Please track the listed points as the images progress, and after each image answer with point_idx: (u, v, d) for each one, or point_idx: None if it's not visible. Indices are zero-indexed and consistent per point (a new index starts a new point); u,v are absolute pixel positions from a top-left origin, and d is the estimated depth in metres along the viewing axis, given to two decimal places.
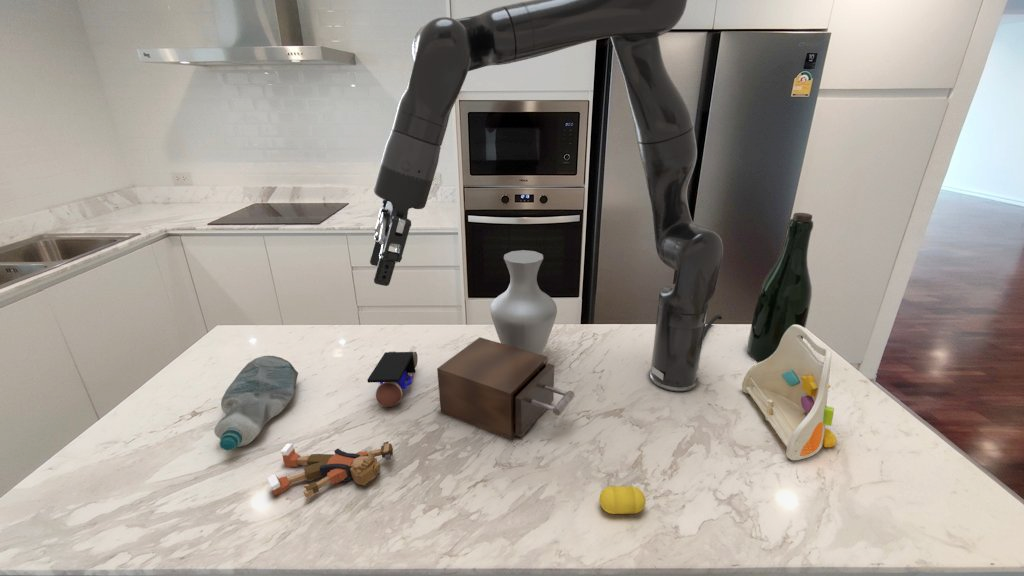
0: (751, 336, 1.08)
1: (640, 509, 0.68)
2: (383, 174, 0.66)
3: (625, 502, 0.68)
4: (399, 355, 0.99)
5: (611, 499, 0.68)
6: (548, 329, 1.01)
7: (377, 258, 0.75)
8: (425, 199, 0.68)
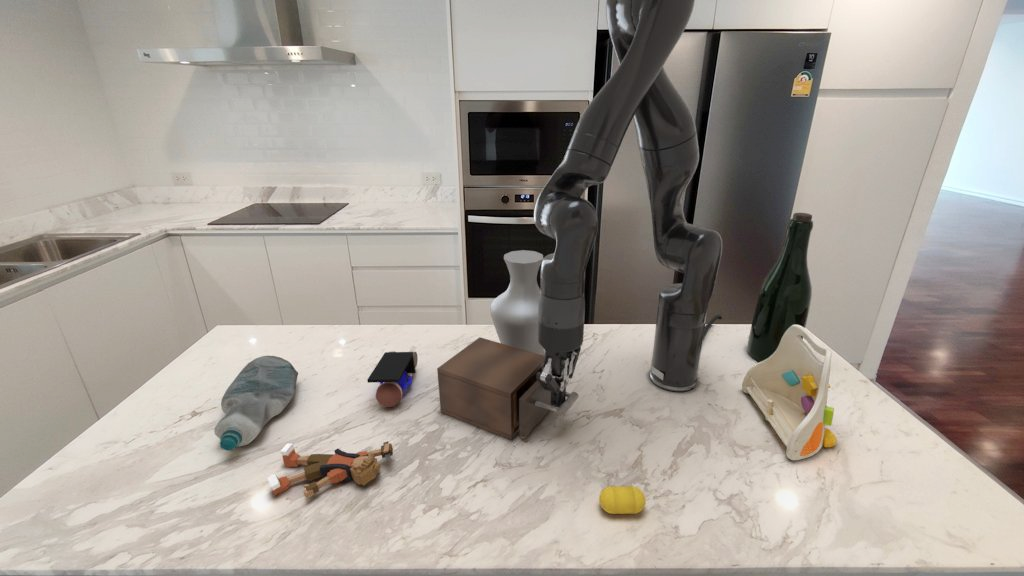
0: (751, 336, 1.08)
1: (640, 509, 0.68)
2: (538, 324, 0.79)
3: (625, 502, 0.68)
4: (399, 355, 0.99)
5: (611, 499, 0.68)
6: None
7: None
8: (573, 343, 0.76)
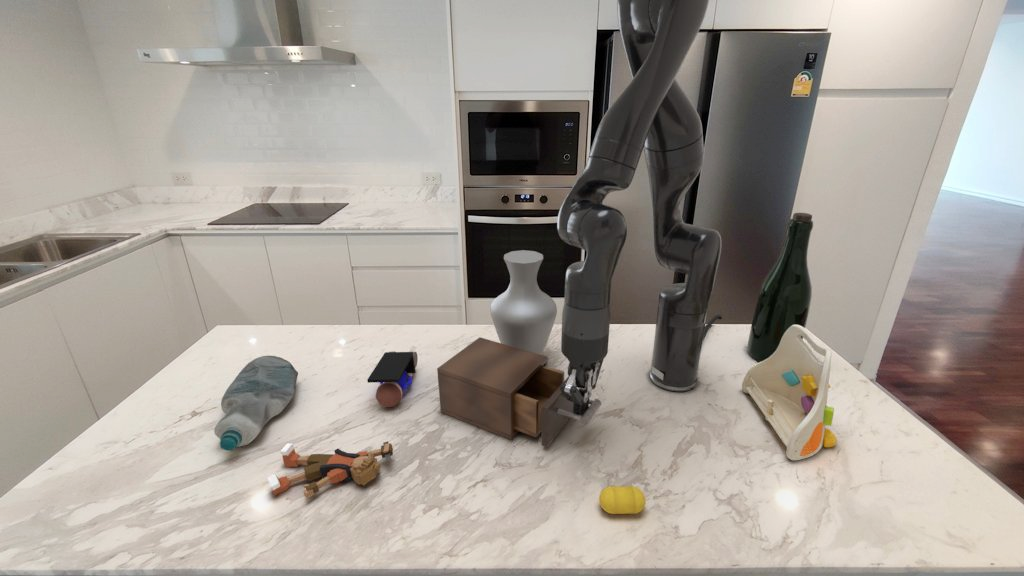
0: (751, 336, 1.08)
1: (640, 509, 0.68)
2: None
3: (625, 502, 0.68)
4: (399, 355, 0.99)
5: (611, 499, 0.68)
6: (548, 329, 1.01)
7: None
8: (598, 354, 0.75)
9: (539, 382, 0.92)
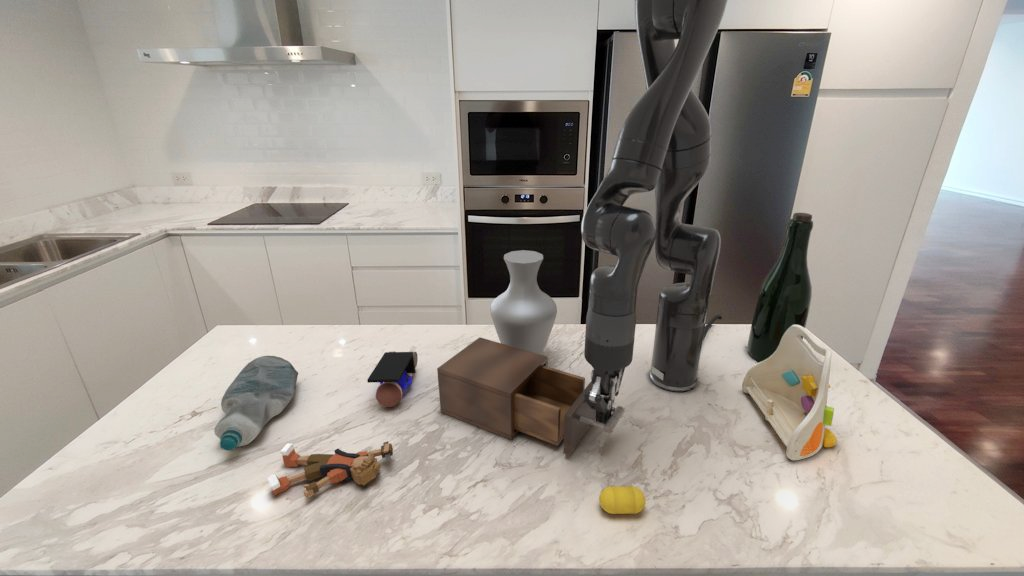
0: (751, 336, 1.08)
1: (640, 509, 0.68)
2: (585, 340, 0.75)
3: (625, 502, 0.68)
4: (399, 355, 0.99)
5: (611, 499, 0.68)
6: (548, 329, 1.01)
7: None
8: (623, 361, 0.73)
9: (558, 388, 0.90)
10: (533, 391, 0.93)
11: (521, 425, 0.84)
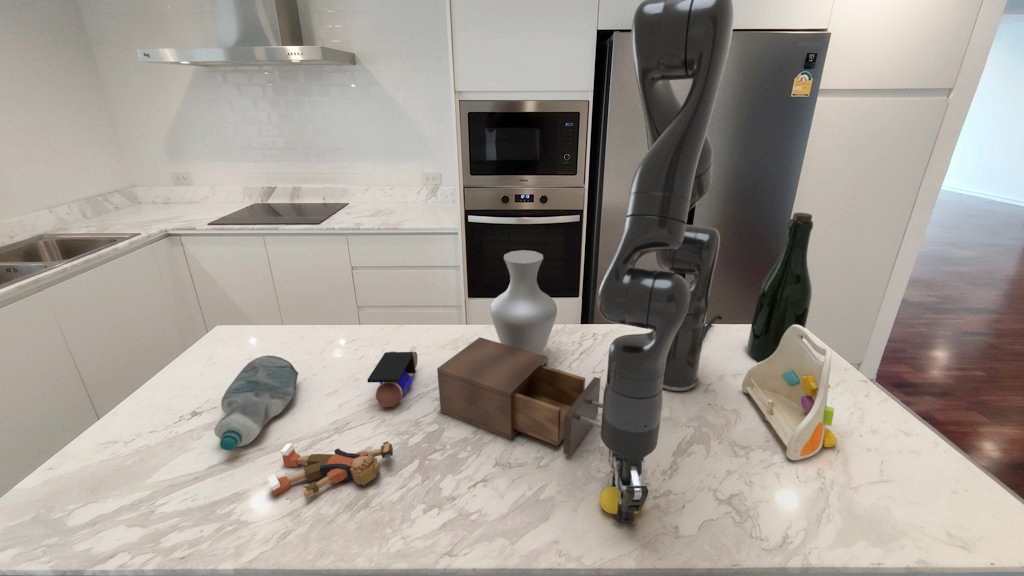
0: (751, 336, 1.08)
1: None
2: (608, 429, 0.62)
3: None
4: (399, 355, 0.99)
5: (611, 499, 0.68)
6: (548, 329, 1.01)
7: None
8: (656, 440, 0.63)
9: (559, 388, 0.90)
10: (533, 391, 0.93)
11: (521, 425, 0.84)
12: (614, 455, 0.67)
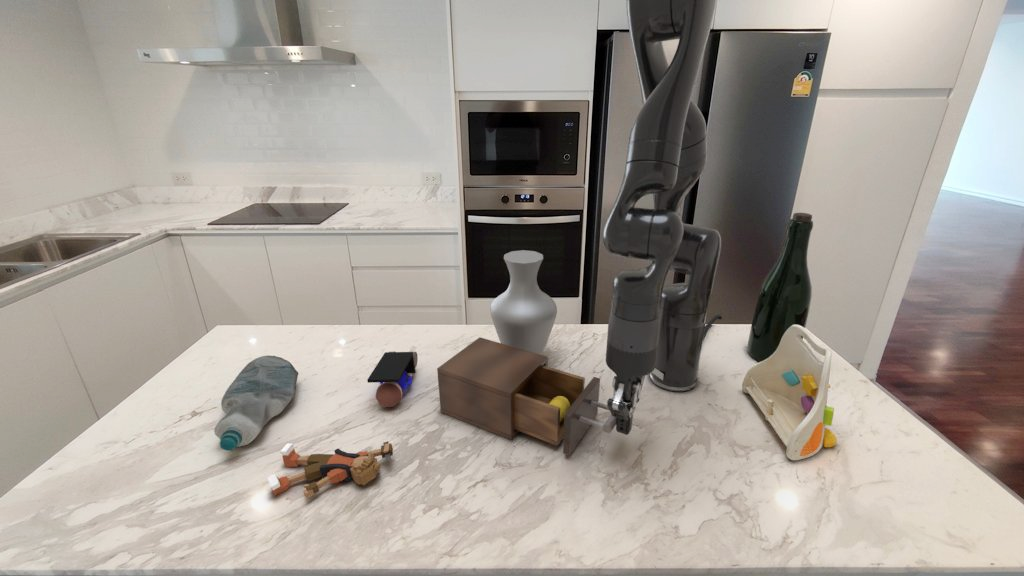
0: (751, 336, 1.08)
1: None
2: (607, 346, 0.73)
3: (564, 409, 0.85)
4: (399, 355, 0.99)
5: None
6: (548, 329, 1.01)
7: None
8: (647, 367, 0.71)
9: (558, 388, 0.90)
10: (533, 391, 0.93)
11: (521, 425, 0.84)
12: None
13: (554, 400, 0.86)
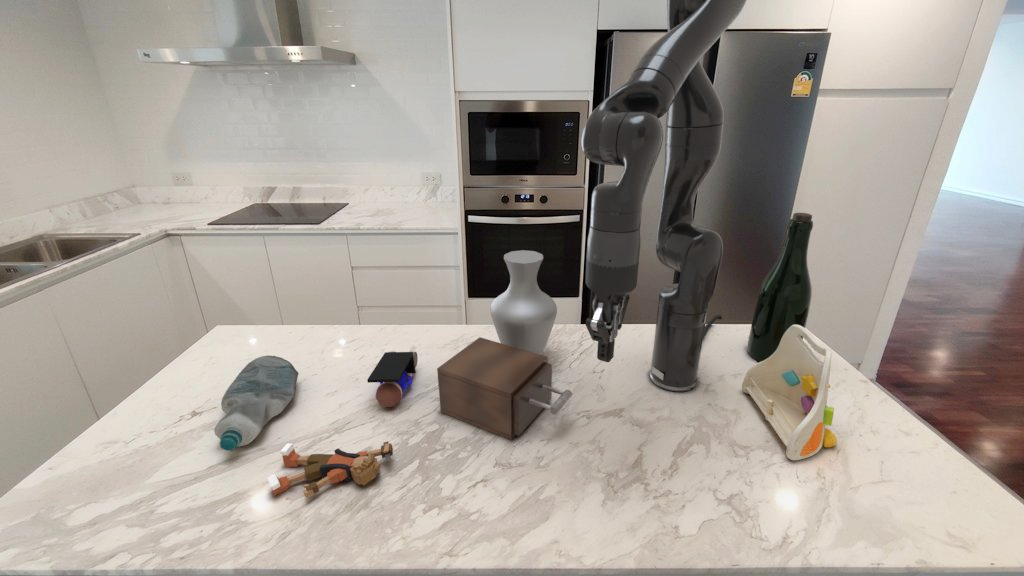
0: (751, 336, 1.08)
1: None
2: (586, 265, 0.71)
3: None
4: (399, 355, 0.99)
5: None
6: (548, 329, 1.01)
7: None
8: (627, 284, 0.68)
9: None
10: None
11: None
12: None
13: None
